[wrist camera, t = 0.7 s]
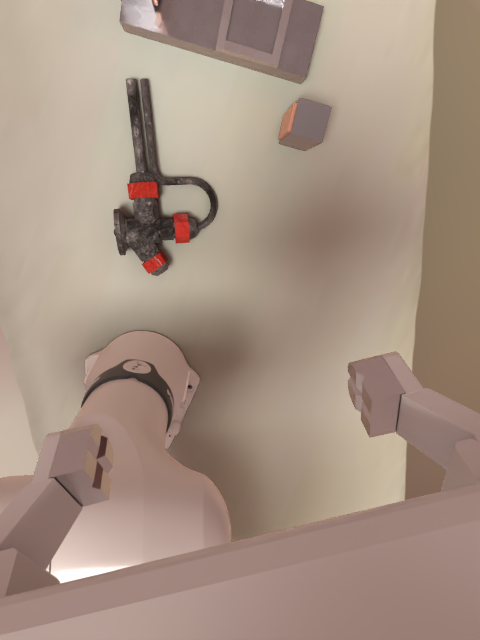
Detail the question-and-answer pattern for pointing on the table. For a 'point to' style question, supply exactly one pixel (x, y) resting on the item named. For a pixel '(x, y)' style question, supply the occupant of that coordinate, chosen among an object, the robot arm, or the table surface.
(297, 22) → the grey base with post
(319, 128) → the block
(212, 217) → the valve
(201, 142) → the table surface
